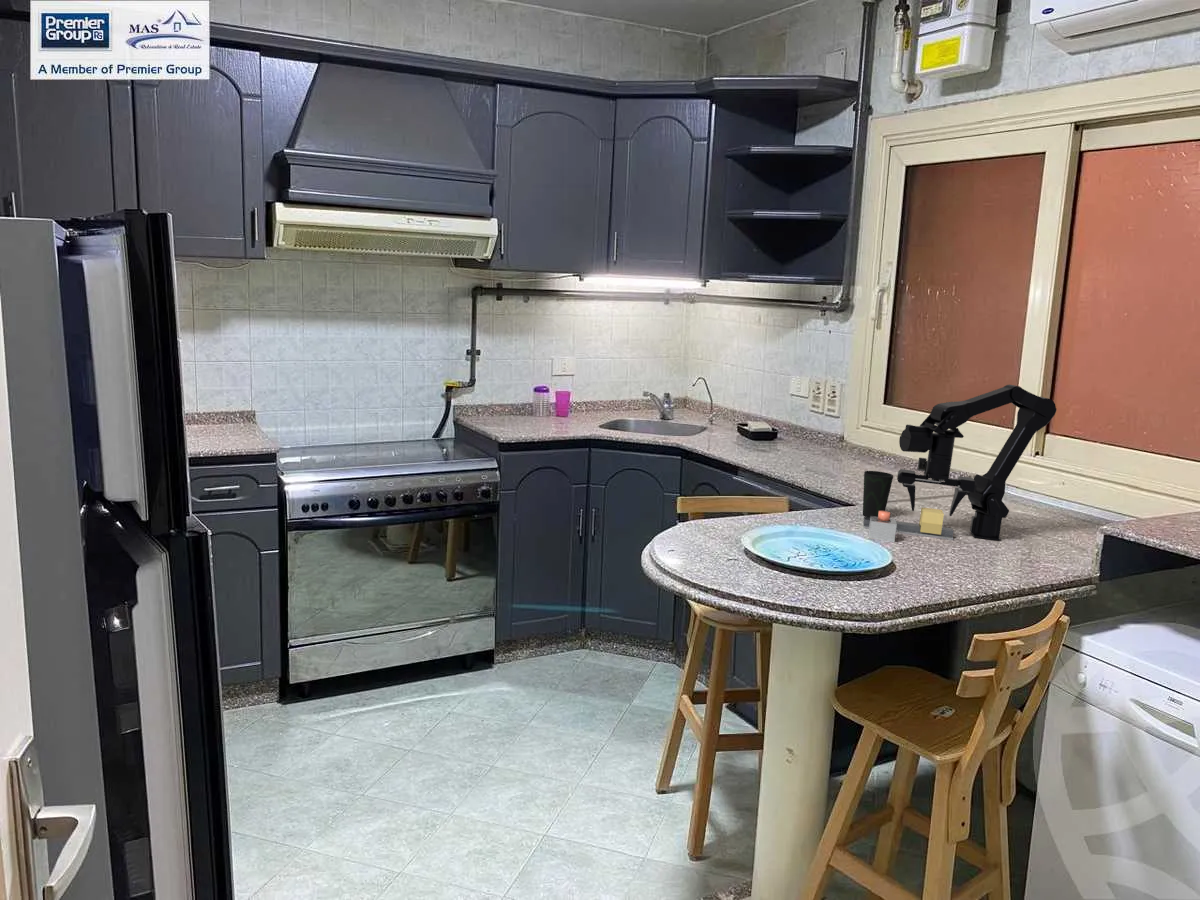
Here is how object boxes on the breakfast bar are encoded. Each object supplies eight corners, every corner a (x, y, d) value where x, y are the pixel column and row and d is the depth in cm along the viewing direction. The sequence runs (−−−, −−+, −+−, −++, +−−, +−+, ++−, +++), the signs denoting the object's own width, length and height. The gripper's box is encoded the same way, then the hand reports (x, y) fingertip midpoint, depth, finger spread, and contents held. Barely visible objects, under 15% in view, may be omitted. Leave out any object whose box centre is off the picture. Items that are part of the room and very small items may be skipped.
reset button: (889, 519, 234) (890, 511, 234) (889, 521, 231) (890, 513, 231) (877, 517, 235) (878, 510, 234) (877, 520, 232) (879, 512, 232)
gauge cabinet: (892, 536, 236) (895, 519, 235) (894, 542, 230) (896, 524, 229) (868, 533, 237) (870, 515, 236) (869, 538, 232) (871, 521, 231)
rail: (950, 534, 243) (951, 527, 243) (952, 540, 237) (954, 532, 237) (862, 522, 248) (863, 515, 248) (863, 528, 242) (864, 520, 242)
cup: (881, 521, 252) (887, 477, 250) (854, 515, 256) (860, 472, 254) (891, 517, 258) (897, 474, 256) (865, 511, 262) (870, 469, 260)
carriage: (938, 529, 243) (941, 509, 242) (940, 534, 238) (943, 514, 237) (918, 527, 244) (921, 507, 243) (920, 531, 239) (923, 511, 238)
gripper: (974, 453, 243) (965, 511, 246) (900, 444, 248) (891, 502, 250) (981, 460, 233) (971, 521, 235) (903, 451, 237) (894, 510, 240)
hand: (931, 513), depth 241 cm, fingers open, 9 cm apart
